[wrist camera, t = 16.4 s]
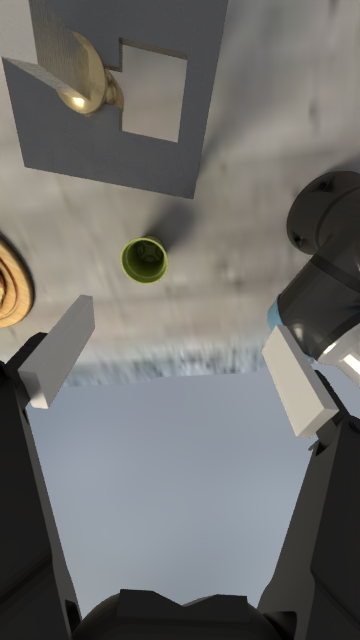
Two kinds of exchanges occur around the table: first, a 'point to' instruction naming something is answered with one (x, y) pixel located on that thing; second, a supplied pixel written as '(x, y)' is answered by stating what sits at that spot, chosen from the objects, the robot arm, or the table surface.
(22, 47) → the brass hanging weight
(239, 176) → the table surface
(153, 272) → the plant pot
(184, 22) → the shelf
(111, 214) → the table surface
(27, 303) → the wooden plate with food
